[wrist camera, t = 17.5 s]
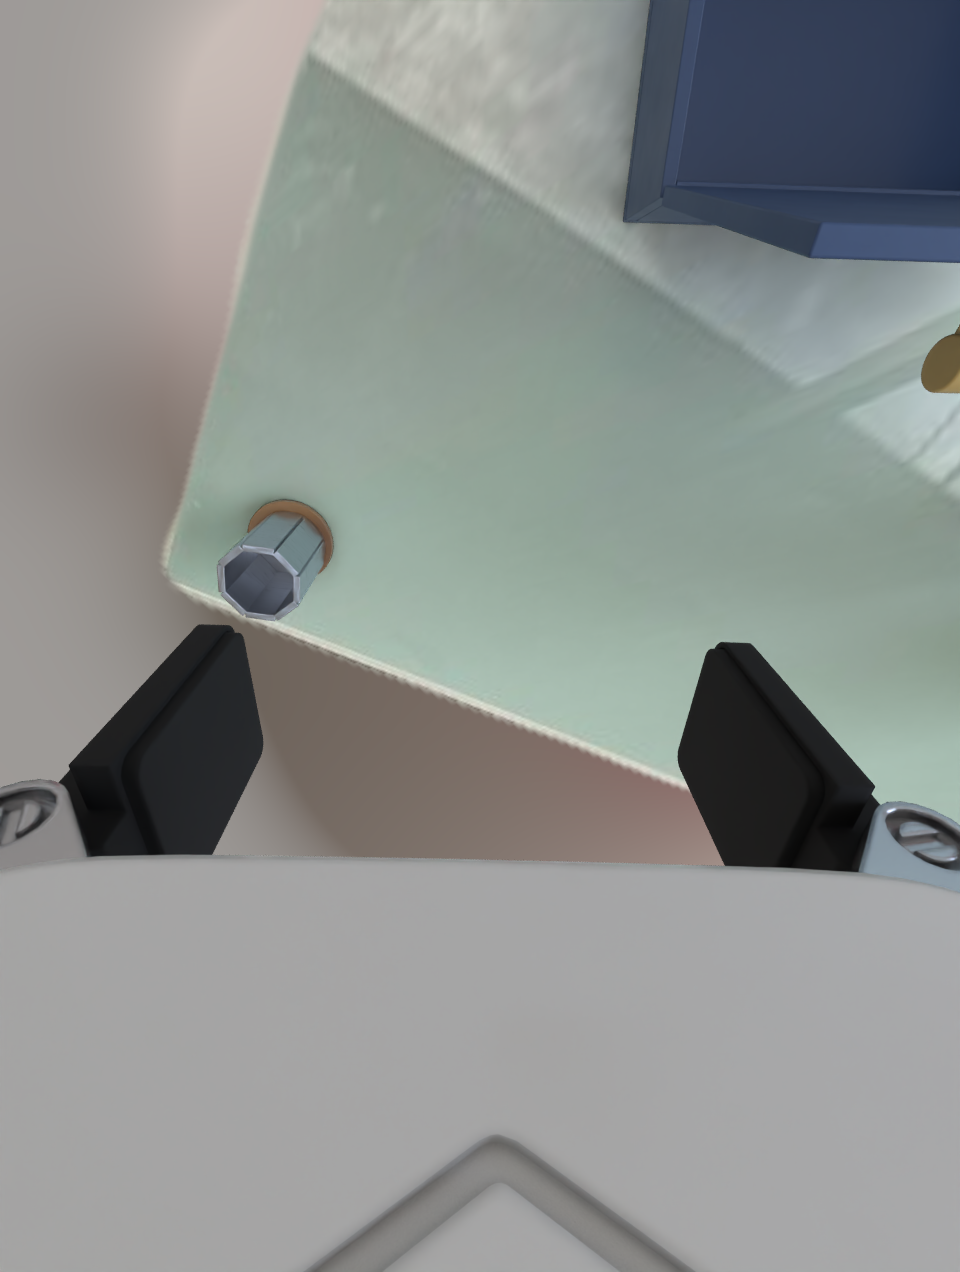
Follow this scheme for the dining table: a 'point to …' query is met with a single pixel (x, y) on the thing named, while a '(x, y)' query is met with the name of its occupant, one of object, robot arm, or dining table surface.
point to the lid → (842, 236)
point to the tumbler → (272, 566)
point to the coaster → (300, 509)
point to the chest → (796, 99)
